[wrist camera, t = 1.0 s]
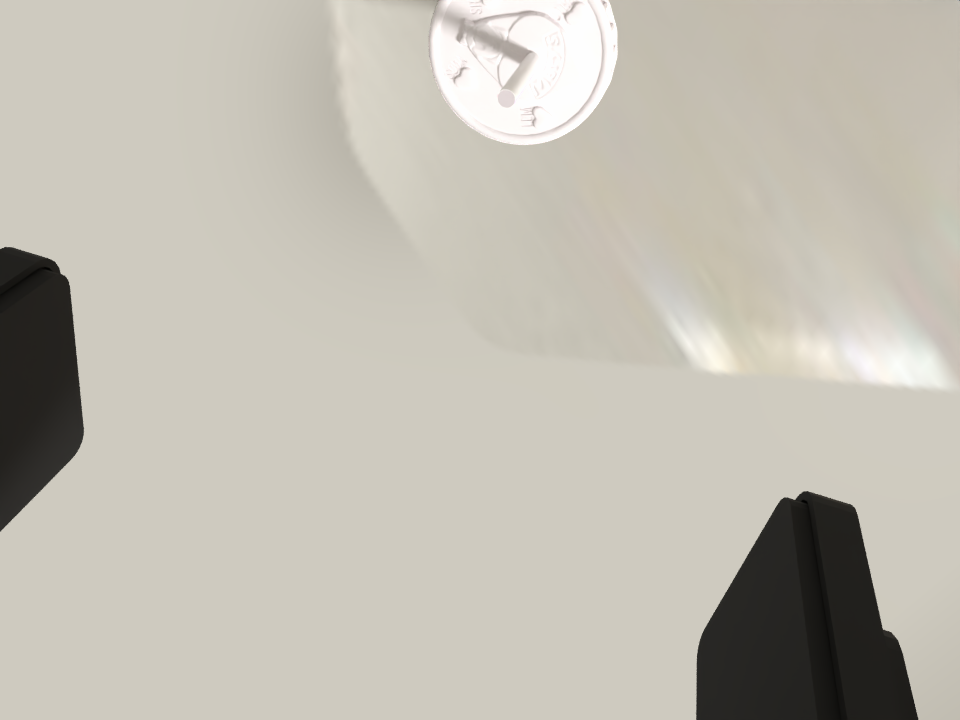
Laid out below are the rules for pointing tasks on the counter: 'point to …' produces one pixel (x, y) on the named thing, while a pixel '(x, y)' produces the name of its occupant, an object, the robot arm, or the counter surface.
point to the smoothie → (523, 64)
